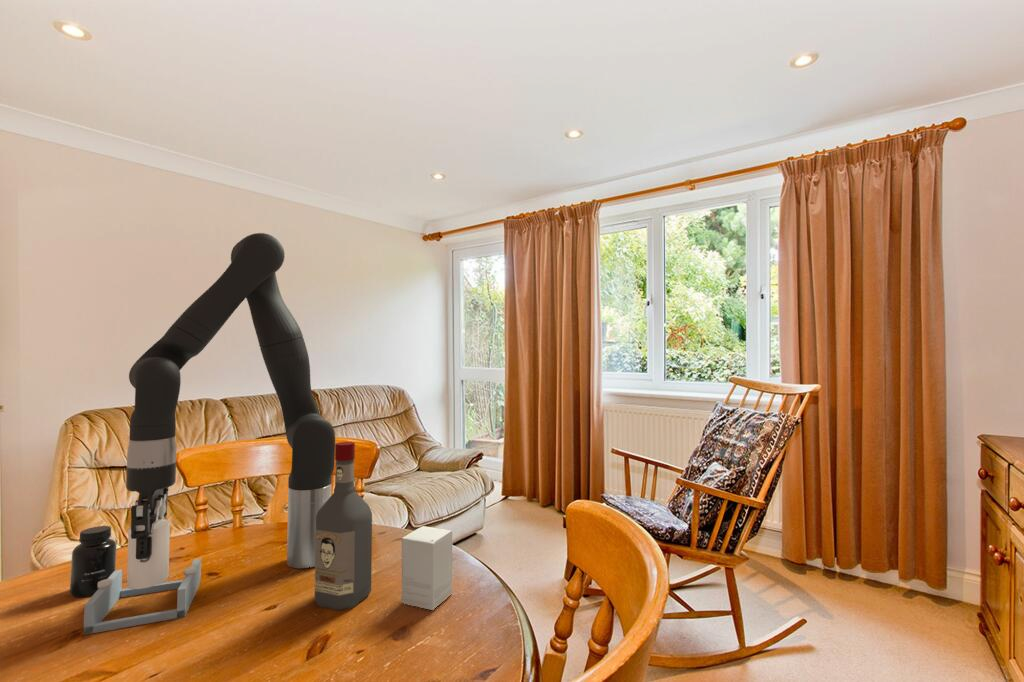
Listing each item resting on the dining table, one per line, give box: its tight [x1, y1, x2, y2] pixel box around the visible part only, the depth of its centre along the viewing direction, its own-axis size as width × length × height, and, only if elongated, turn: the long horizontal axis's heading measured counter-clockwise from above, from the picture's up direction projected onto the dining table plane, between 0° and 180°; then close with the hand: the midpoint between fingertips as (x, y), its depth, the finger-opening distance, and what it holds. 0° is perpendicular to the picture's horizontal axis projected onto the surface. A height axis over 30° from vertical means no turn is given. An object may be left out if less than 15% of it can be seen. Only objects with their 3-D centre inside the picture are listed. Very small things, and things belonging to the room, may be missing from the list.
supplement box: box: [401, 525, 453, 610], centre depth 93 cm, size 7×7×13 cm
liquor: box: [314, 441, 373, 611], centre depth 94 cm, size 9×9×30 cm
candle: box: [126, 518, 171, 589], centre depth 91 cm, size 6×6×15 cm
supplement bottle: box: [69, 525, 117, 598], centre depth 96 cm, size 7×7×12 cm
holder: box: [83, 558, 202, 636], centre depth 90 cm, size 15×14×6 cm
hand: (149, 550), depth 90 cm, fingers closed on candle, 6 cm apart
